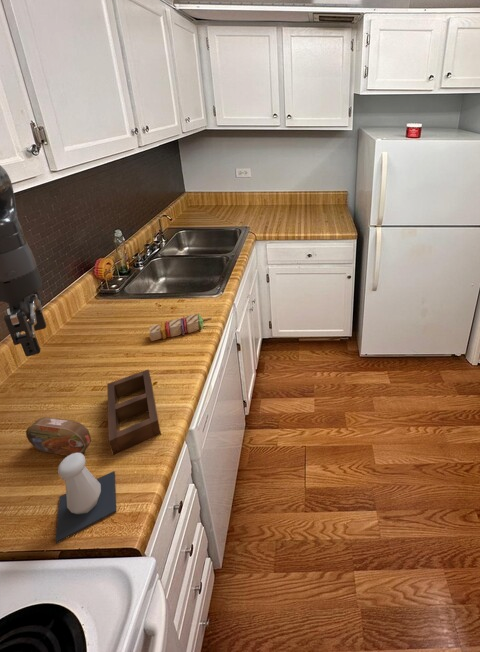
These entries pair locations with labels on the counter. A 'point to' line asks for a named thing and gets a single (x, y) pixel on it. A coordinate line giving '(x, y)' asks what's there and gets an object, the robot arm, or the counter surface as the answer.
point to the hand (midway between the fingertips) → (37, 340)
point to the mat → (103, 508)
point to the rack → (131, 412)
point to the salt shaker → (79, 484)
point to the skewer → (177, 327)
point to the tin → (58, 436)
